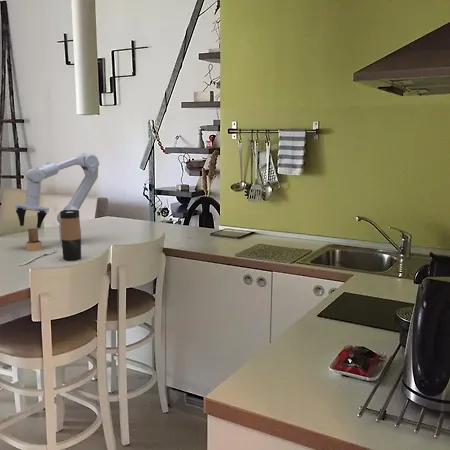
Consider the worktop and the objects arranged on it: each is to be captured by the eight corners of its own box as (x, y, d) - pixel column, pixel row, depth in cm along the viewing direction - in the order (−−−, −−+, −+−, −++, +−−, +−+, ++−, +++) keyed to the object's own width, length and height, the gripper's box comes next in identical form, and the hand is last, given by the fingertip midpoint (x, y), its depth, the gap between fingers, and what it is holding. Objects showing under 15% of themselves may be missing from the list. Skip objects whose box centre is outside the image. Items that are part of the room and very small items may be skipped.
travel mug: (83, 256, 226) (81, 209, 223) (79, 261, 219) (76, 212, 215) (65, 256, 226) (62, 209, 222) (60, 261, 218) (57, 212, 215)
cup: (43, 248, 241) (42, 240, 240) (39, 252, 235) (38, 243, 234) (29, 249, 240) (28, 240, 240) (25, 252, 234) (24, 243, 234)
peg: (40, 248, 240) (38, 228, 238) (37, 250, 236) (36, 230, 234) (30, 248, 239) (29, 228, 238) (28, 250, 235) (26, 230, 234)
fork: (17, 265, 212) (16, 260, 212) (53, 250, 235) (53, 246, 234) (24, 265, 211) (23, 261, 211) (59, 250, 234) (59, 247, 234)
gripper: (12, 194, 231) (10, 225, 232) (45, 198, 230) (42, 229, 232) (19, 194, 238) (17, 224, 239) (51, 197, 237) (48, 228, 239)
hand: (30, 226), depth 236 cm, fingers open, 7 cm apart
